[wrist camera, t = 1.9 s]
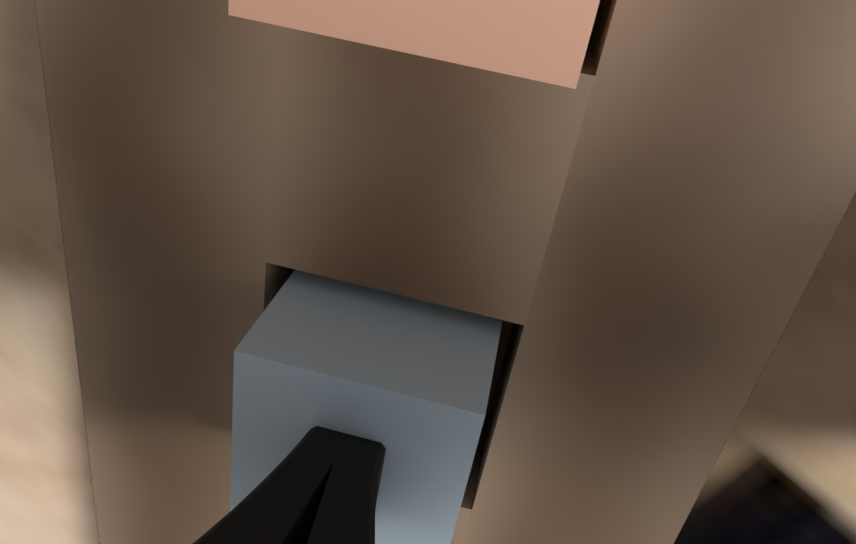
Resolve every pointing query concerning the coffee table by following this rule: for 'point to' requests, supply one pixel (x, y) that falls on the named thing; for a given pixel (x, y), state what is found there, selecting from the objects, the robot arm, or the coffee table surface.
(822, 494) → the coffee table surface
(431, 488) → the slate key
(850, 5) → the board
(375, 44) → the pink cube
